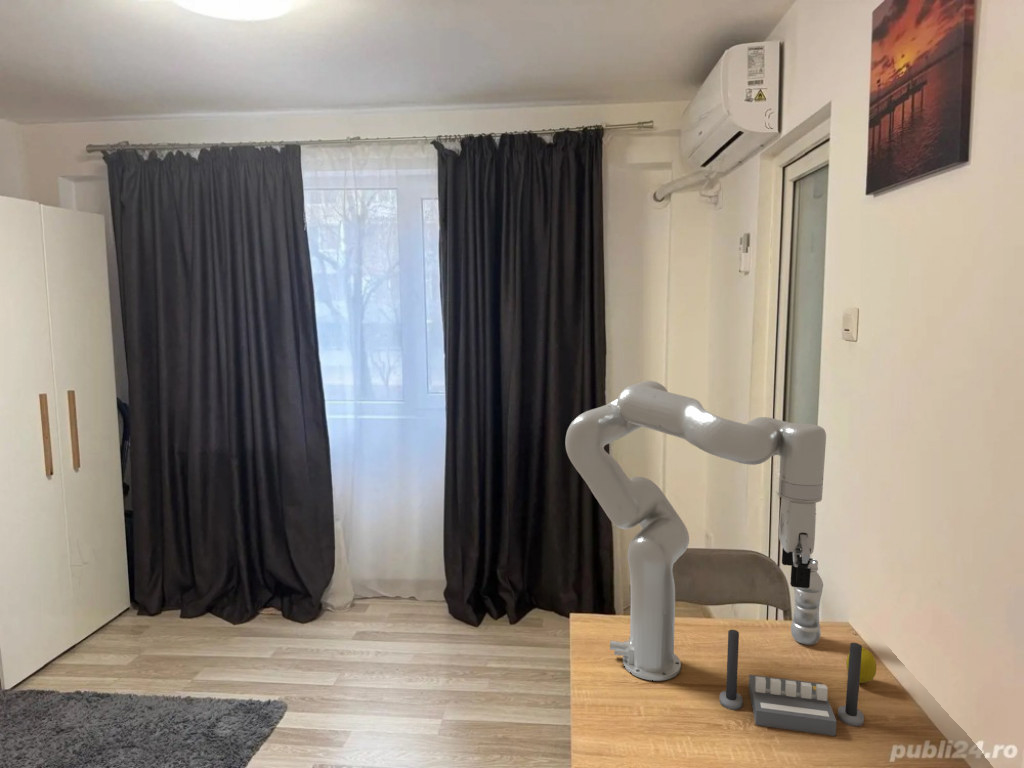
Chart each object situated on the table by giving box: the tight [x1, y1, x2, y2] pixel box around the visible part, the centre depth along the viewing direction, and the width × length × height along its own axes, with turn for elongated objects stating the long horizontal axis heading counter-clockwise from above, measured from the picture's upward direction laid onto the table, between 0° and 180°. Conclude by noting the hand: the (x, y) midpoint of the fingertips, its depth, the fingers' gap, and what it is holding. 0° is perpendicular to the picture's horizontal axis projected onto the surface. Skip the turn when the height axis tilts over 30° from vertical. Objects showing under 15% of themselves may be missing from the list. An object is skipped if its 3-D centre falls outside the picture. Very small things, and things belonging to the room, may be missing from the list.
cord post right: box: [837, 642, 865, 727], centre depth 123 cm, size 4×4×15 cm
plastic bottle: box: [790, 557, 824, 646], centre depth 150 cm, size 6×7×20 cm
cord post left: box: [719, 629, 744, 711], centre depth 128 cm, size 4×4×15 cm
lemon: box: [846, 646, 877, 684], centre depth 135 cm, size 6×6×8 cm
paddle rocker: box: [755, 676, 829, 701], centre depth 126 cm, size 13×1×3 cm, turn 76°
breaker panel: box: [748, 674, 837, 737], centre depth 127 cm, size 14×12×3 cm
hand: (794, 575), depth 123 cm, fingers open, 9 cm apart
